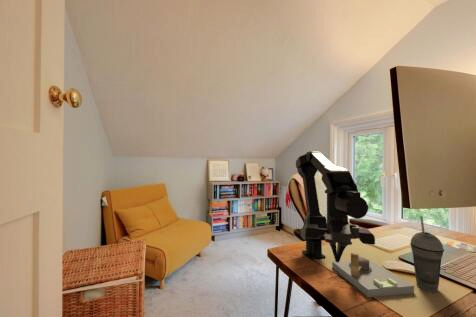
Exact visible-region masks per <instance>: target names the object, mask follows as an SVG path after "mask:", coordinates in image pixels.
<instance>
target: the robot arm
mask: <svg viewBox="0 0 476 317" xmlns="http://www.w3.org/2000/svg"><path fill="white" fill-rule="evenodd" d="M295 168H296V169H297V174H298V175H299V176H300V177H301V179H302V183H303V192H304V201H305V208H306V215H305V217H304V219H303V226H302V228H301V229H300V232H299V233H300V237H301V238H302V239H303V241H305V249H304V250H302V251H301V252H302V253H303V254H304V255H305V256H306V257H307V258H308V259H326V255H324V254H323V252H322V251H323V250H322V249H323V246H322V245H323V244H322V241H324V242H325V243H328V244H329V246H330V248H331V251H332V254H333V257H334V261H336V262H338V263H339V261H341V259H342V256H343V254H344V251H345V249H346V247H348V246H352V245H353V242H352V240H356V239H359V241H360V242H361V243H362V244H363V245H365V244H366V245H371V246H372V245H373V246H374V245H376V237H375V235H374V234H373V233H372V232H371V231H370V230H369V229H368V228H360V227H359V225H357V224H350V223H349V218H348V217H351V218H354V219H355V220H357V219H358V220H359V219H363V218H364V217H365V216H366V215H367V213H368V211H369V205H368V202H367V201H366V200H365V199H364V198H363V197H362V196H361V192H360V191H359V190H358V186H357V184H356V183H355V181H354V178H353V175H352V174H351V172H350V171H349V170H348V169H347V168H345V167H343V166H339V165H335V164H333V163H332V161H330V160H329V159H328V158H327V157H325V155H324V154H323V153H322V152H321V151H320V150H317V151H316V150H315V151H314V150H310V151H307V152H306V153H305V154H302V155H299V157H298V158H297V159H296V161H295ZM317 172H319V173H320V174H321V182H322V183H323V184H324V186H325V190H324V193H325V194H326V216H323V214H322V213H321V211H320V206H319V205H320V204H319V198H318V191H317V185H316V184H317V183H316V178H315V176H316V174H317Z"/></svg>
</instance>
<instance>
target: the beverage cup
mask: <svg viewBox="0 0 476 317" xmlns="http://www.w3.org/2000/svg"><path fill="white" fill-rule="evenodd" d="M419 218H420V224H421V231H419V232H416V233H414V234H413V236H412V237H411V239H410V242H409V245H410V250H411V252H412V258H413V266H414V267H413V268H414V274H415V281H416V286H417V285H418V286H419V287H418V286H417V287H418V288H420V289H421V288H422V290H424V291H427V292H431V293H437V292H438V291H439V285H440V276H441V264H442V259H443V255H444V251H445V249H444V246H443V243H442V241H441V240H440V239H439V238H438V237H437V236H436V235H434V234H432V233H430V232H428V231H427V232H426V231H425V225H424V218H423V216H420V217H419Z"/></svg>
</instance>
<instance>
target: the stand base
mask: <svg viewBox="0 0 476 317" xmlns="http://www.w3.org/2000/svg"><path fill="white" fill-rule="evenodd" d="M367 259H368V258H367ZM368 260H369V270H362V271H361V273H360V275H359V276H358V277H355V276H352V275H351V259H350V260H340V261H339V263H338V262H336V261H335V260H334V261H332V263H331V264H332V265H331V266H332V267H333V268H332V269H334V270H335V271H336V272H337V271H338V272H339V273H338V272H337V273H338V274H339V275H340V276H342V277H343V278H344V279H345V280H347V281H348V282H349V283H350V284H352V285H353V286H354V287H355V288H356V289H358V290H359V291H360V292H361V293H362V294H363V295H365V296H366V297H367V298H375V297H377V298H378V297H387V296H397V295H398V296H399V295H411V294H415V285H413V284H412V283H410V282H408V281H407V280H405V279H404V278H402V277H400V276H398V275H397V274H395V273H393V272H391V271H389V270H388V269H386V268H384V267H383V266H382V265H380V264H378V263H376V262H374V261H373V260H371V259H368Z"/></svg>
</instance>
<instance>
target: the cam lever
mask: <svg viewBox="0 0 476 317" xmlns="http://www.w3.org/2000/svg"><path fill="white" fill-rule="evenodd" d="M350 260H351V275H352V276H355V277H358V276H359V275H360V273H361V271H362V270H369V260H368V258H366V257H363V256H359V254H358V253H356V252H351V253H350Z"/></svg>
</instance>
